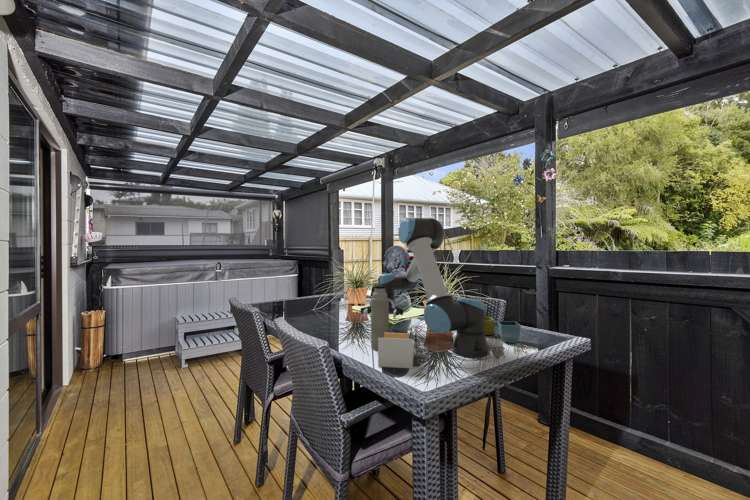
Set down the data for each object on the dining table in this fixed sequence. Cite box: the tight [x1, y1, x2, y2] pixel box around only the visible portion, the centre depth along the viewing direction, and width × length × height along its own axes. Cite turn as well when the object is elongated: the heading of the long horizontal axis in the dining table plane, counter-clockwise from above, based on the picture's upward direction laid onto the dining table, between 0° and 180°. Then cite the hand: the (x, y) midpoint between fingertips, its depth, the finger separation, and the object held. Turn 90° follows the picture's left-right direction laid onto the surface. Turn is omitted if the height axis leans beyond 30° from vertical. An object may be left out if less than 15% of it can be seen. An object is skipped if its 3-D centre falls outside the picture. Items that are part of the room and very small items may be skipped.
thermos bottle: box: [370, 285, 390, 351], centre depth 158 cm, size 8×8×28 cm
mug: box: [485, 316, 495, 336], centre depth 182 cm, size 12×10×10 cm
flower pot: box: [497, 320, 521, 344], centre depth 167 cm, size 9×9×9 cm
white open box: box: [377, 338, 415, 369], centre depth 142 cm, size 17×13×11 cm
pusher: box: [384, 332, 410, 339], centre depth 139 cm, size 4×10×10 cm, turn 81°
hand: (379, 314), depth 159 cm, fingers open, 13 cm apart
